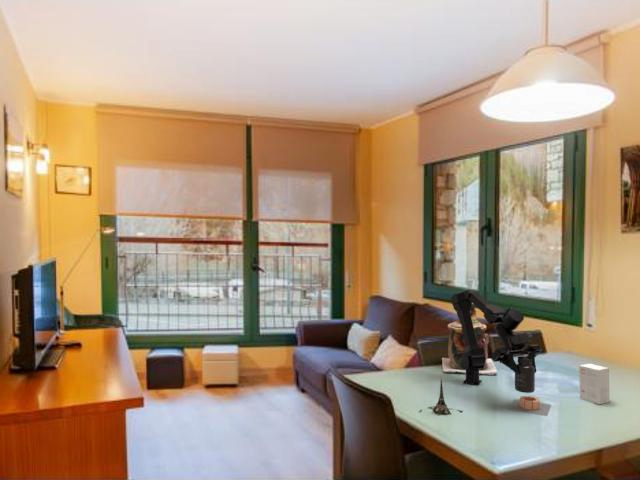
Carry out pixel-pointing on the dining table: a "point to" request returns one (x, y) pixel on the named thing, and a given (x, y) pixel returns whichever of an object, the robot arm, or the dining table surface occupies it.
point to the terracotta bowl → (529, 403)
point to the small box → (594, 383)
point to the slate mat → (542, 411)
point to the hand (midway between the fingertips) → (527, 373)
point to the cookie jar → (458, 346)
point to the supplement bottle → (525, 375)
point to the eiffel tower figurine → (441, 405)
